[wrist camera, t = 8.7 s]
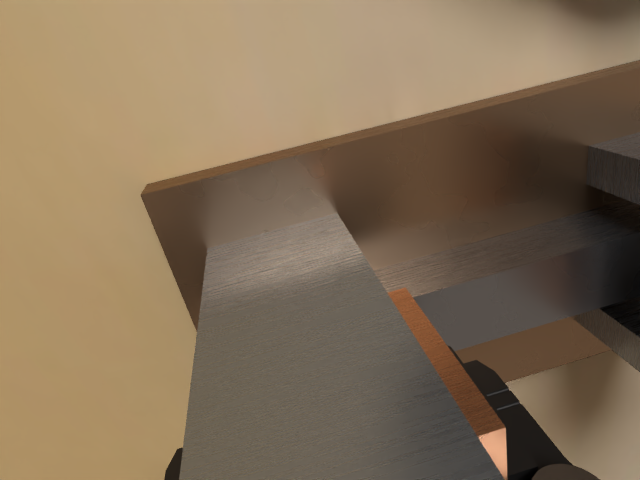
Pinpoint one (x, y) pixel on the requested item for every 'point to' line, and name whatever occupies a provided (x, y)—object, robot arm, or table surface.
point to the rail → (460, 217)
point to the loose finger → (326, 372)
